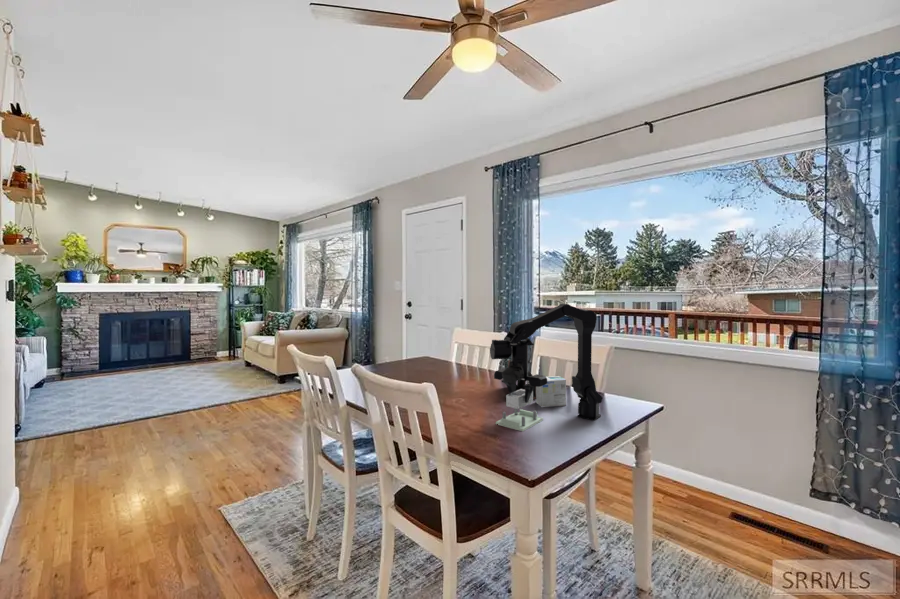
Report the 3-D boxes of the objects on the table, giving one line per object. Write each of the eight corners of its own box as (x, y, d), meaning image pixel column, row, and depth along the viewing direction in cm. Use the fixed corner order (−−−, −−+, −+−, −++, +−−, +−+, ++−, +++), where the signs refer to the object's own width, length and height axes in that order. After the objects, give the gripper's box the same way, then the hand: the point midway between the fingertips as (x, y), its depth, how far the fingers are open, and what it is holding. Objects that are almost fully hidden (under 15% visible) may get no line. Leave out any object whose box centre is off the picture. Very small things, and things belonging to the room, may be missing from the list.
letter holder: (513, 400, 177) (513, 367, 176) (507, 387, 196) (507, 357, 196) (536, 400, 177) (536, 367, 176) (528, 387, 196) (528, 357, 196)
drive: (533, 402, 152) (533, 390, 151) (518, 409, 144) (518, 397, 144) (521, 399, 155) (520, 388, 155) (506, 406, 147) (506, 394, 147)
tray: (542, 420, 152) (542, 409, 151) (522, 431, 141) (522, 420, 141) (516, 413, 159) (516, 404, 159) (495, 424, 148) (495, 413, 148)
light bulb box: (559, 400, 175) (559, 375, 174) (566, 405, 168) (566, 379, 167) (535, 402, 173) (535, 376, 172) (541, 407, 166) (541, 380, 165)
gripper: (485, 358, 148) (485, 401, 149) (531, 365, 136) (531, 412, 137) (502, 353, 157) (502, 394, 158) (547, 359, 145) (547, 404, 146)
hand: (519, 401), depth 150 cm, fingers closed on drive, 5 cm apart
